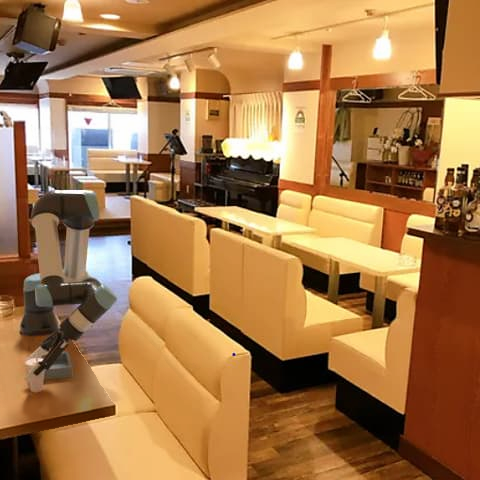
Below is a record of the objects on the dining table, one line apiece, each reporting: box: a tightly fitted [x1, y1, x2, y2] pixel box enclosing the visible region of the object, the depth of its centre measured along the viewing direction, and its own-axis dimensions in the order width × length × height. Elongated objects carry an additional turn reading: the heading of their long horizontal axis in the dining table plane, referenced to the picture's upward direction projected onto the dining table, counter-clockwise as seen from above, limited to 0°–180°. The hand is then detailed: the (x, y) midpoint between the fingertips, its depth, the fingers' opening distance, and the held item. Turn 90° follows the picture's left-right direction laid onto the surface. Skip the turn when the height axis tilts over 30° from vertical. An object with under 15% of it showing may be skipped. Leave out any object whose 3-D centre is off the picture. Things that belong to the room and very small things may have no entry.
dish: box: [27, 351, 73, 381], centre depth 198 cm, size 14×14×4 cm
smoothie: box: [25, 348, 45, 393], centre depth 183 cm, size 6×6×14 cm
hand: (27, 371), depth 183 cm, fingers open, 13 cm apart
